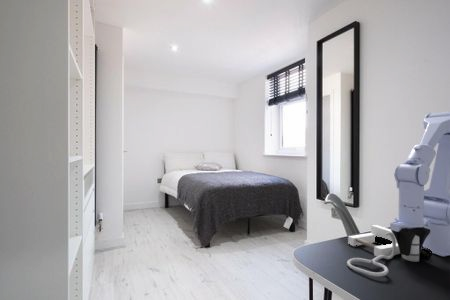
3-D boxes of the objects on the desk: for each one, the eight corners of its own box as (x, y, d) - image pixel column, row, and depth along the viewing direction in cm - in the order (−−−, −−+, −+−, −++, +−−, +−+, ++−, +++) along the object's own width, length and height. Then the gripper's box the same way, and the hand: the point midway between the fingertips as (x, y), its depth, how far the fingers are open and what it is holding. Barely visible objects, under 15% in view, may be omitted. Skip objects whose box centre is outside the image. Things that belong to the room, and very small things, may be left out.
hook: (415, 258, 67) (383, 290, 56) (378, 249, 75) (343, 275, 63) (412, 232, 67) (379, 258, 56) (375, 225, 75) (340, 247, 63)
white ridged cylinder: (406, 254, 72) (407, 232, 72) (422, 260, 68) (423, 237, 68) (397, 256, 70) (397, 234, 70) (413, 262, 66) (413, 239, 66)
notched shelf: (375, 239, 84) (375, 224, 84) (409, 251, 74) (410, 235, 74) (348, 243, 79) (348, 228, 79) (380, 258, 69) (380, 240, 69)
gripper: (411, 201, 75) (411, 244, 75) (379, 204, 70) (379, 251, 70) (438, 206, 69) (438, 254, 69) (405, 210, 63) (405, 261, 63)
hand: (410, 253), depth 69 cm, fingers closed on white ridged cylinder, 4 cm apart
